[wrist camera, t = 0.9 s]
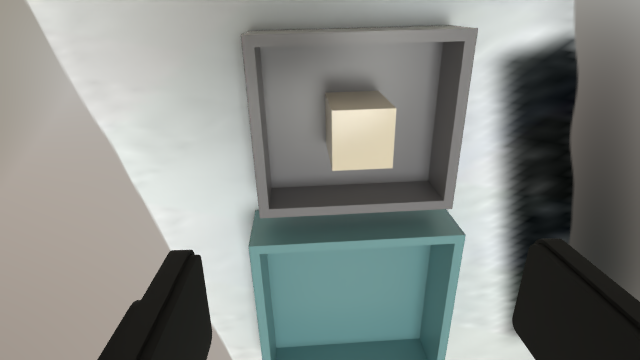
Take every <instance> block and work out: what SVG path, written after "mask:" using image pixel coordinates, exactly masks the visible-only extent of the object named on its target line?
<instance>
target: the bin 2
mask: <svg viewBox="0 0 640 360" xmlns="http://www.w3.org/2000/svg"><path fill="white" fill-rule="evenodd" d="M464 241H465V234H464V232H463V231H462V230H461V228H460V227H459V226H458V224H457V223H456V222H455V220H454V219H453V218H452V216H451V215H450V214H449V213H448V211H447V210H446V209H438V210H418V211H398V212H378V213H359V214H339V215H319V216H299V217H279V218H260V216H259V210H256V211H255V216H254V221H253V226H252V232H251V237H250V242H249V254H250V262H251V270H252V279H253V287H254V295H255V303H256V311H257V320H258V328H259V336H260V344H261V352H262V360H445V356H446V350H447V344H448V338H449V331H450V325H451V319H452V313H453V307H454V301H455V295H456V289H457V283H458V277H459V271H460V265H461V259H462V253H463V247H464Z"/></svg>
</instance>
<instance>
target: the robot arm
mask: <svg viewBox="0 0 640 360" xmlns="http://www.w3.org/2000/svg"><path fill="white" fill-rule="evenodd" d="M512 322H513V327H514V329H515V331H516V333H517V334H518V336H519V337H520V338H521V340H522V341H523V343H524V344H525V345H526V347H527V348H528V350H529V351H530V353H531V354H532V355H533V357H534V358H535V360H640V302H639V301H638V300H637V299H635V298H634V297H633V296H632V295H630V294H629V293H628V292H627V291H625V290H624V289H623V288H622V287H620V286H619V285H618V284H617V283H616V282H614V281H613V280H612V279H610V278H609V277H608V276H607V275H606V274H604V273H603V272H602V271H601V270H599V269H598V268H597V267H596V266H594V265H593V264H592V263H591V262H589V261H588V260H587V259H586V258H585V257H583V256H582V255H581V254H579V253H578V252H577V251H576V250H575V249H573V248H572V247H571V246H570V245H568V244H567V243H566V242H565V241H563V240H562V239H539V240H537V241H536V242H535V243H534V244H533V245H531V246H530V248H529V251H528V255H527V259H526V263H525V267H524V272H523V276H522V280H521V284H520V288H519V293H518V297H517V301H516V305H515V309H514V313H513V318H512ZM211 340H212V328H211V321H210V314H209V307H208V301H207V294H206V287H205V280H204V274H203V267H202V260H201V256H200V255H194V252H193V250H172V251H170V252H169V254H168V255H167V257H166V258H165V260H164V262H163V264H162V265H161V267H160V269H159V270H158V272H157V274H156V276H155V277H154V279H153V281H152V282H151V284H150V286H149V287H148V290H147V291H146V293H145V294H144V296H143V298H142V299H141V300H137V301H135V302H133V303H132V305H131V306H130V308H129V309H128V311H127V312H126V314H125V316H124V317H123V319H122V320H121V322H120V324H119V325H118V327H117V329H116V330H115V332H114V334H113V335H112V337H111V339H110V340H109V342H108V343H107V345H106V347H105V348H104V350H103V352H102V353H101V355H100V356H99V358H98V360H206V359H207V356H208V352H209V348H210V345H211Z"/></svg>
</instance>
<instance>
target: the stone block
mask: <svg viewBox="0 0 640 360" xmlns="http://www.w3.org/2000/svg"><path fill="white" fill-rule="evenodd" d="M325 113H326V146H327V150H328V154H329V159H330V163H331V167H332V171H341V170H364V169H386V168H393V155H394V140H395V124H396V107H395V106H394V105H393V104H392V103H391V102H389V101H388V100H387V99H386V98H385V97H384V96H383V95H382V94H381V93H380V92H379V91H358V92H329V93H325Z"/></svg>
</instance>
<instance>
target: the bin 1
mask: <svg viewBox="0 0 640 360" xmlns="http://www.w3.org/2000/svg"><path fill="white" fill-rule="evenodd" d="M477 32H478V28H470V27H461V26H451V25H446V26H409V27H372V28H335V29H298V30H261V31H248V32H246V33H244V34H241V42H242V51H243V61H244V71H245V80H246V90H247V100H248V109H249V119H250V129H251V138H252V148H253V158H254V167H255V177H256V187H257V196H258V206H259V216H260V218H279V217H299V216H319V215H339V214H359V213H378V212H398V211H418V210H438V209H452V206H453V199H454V192H455V186H456V179H457V172H458V165H459V158H460V151H461V144H462V137H463V130H464V123H465V116H466V109H467V102H468V95H469V88H470V81H471V74H472V67H473V60H474V53H475V46H476V39H477ZM358 91H379V92H380V93H381V94H382V95H383V96H384V97H385V98H386V99H387V100H388V101H389V102H391V103H392V104H393V105H394V106H395V107H396V124H395V140H394V155H393V168H386V169H364V170H341V171H332V167H331V163H330V159H329V154H328V150H327V146H326V113H325V93H329V92H358Z"/></svg>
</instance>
